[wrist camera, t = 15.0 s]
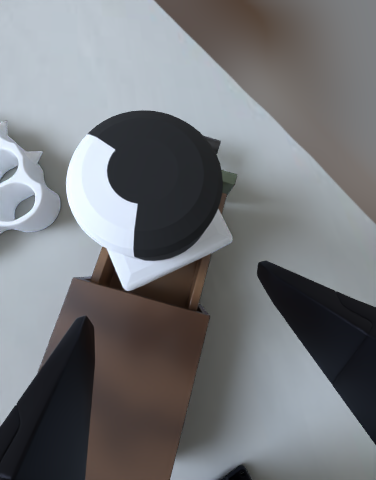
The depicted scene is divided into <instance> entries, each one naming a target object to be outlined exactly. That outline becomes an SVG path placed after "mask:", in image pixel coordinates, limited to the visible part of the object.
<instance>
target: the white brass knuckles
mask: <svg viewBox="0 0 376 480" xmlns="http://www.w3.org/2000/svg"><path fill="white" fill-rule="evenodd" d="M42 153H43V151H25V150H24V149H23V148H21V147H20V146H19V145H18V144H17V143H16V142H15V141H14V140H13V139H11V138H10V137H9V136H8V134H7V120H6V121H3V122H0V181H1V178H2V176H3V175H4V174H5V173H6V172H7V171H8V170H10V169H12V168H14V167H16V166H18V169H17V171H16V173H15V174H14V175H13V176H12V177H11V178H10V179H8V180H6V181H4V182H2V183H0V234H1V233H2V232H4V231H6V230H10V229H15V230H19V231H23V232H36V231H40V230H43V229H45V228H46V227H48V226H49V225H51V224H52V223H53V222H54V221H55V219H56V218H57V216H58V214H59V211H60V198H59V195H58V194H57V193H55V192H54V191H52V190H51V189H49V188H48V187H47V186H46V184H45V181H44V171H43V170H42V168H41V167H40V165H39V164H38V161H39V159H40V157H41V155H42ZM33 195H35V204H34V206H33V208H32V209H31V210H30V211H29V212H28V213H27V214H26V215H24V216H22V217H20V218H18V219H16V220H15V209H16V207H17V206H18V204H19V203H20V202H21V201H23V200H25V199H27V198H28V197H30V196H33Z"/></svg>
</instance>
